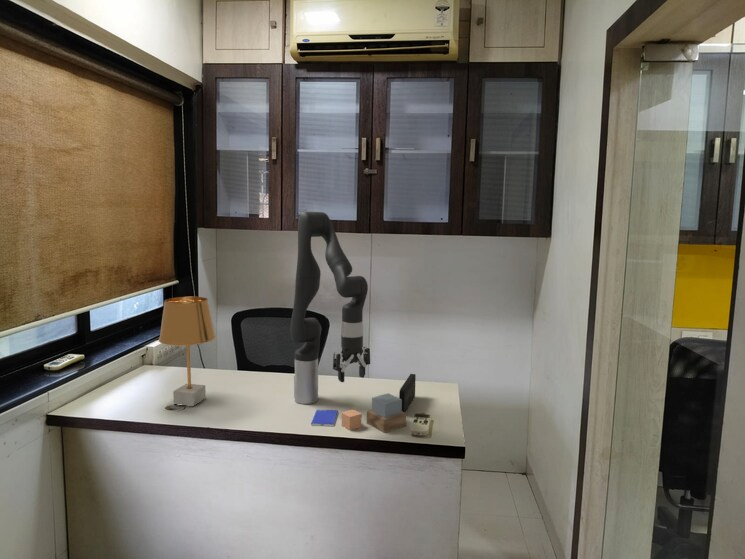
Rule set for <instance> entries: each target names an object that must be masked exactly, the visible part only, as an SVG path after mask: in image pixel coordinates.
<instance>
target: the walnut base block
mask: <svg viewBox="0 0 745 559" xmlns="http://www.w3.org/2000/svg"><path fill="white" fill-rule="evenodd" d="M366 424H367V425H369V426H371V427H373V428H374V429H376V430H378V431H380V432H382V433H383V434H387V433H389V432H392V431H395V430H399V429H401V428H404V426H405V427H406V426H407V412H406V413H404V412H401V413H400V414H397V415H393V416H390V417H387V418H384V417H382V416H380V415H378V414H376V413H375V412H373V411H372V408H371V409H368V410H366Z"/></svg>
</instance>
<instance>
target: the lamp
mask: <svg viewBox="0 0 745 559" xmlns="http://www.w3.org/2000/svg"><path fill="white" fill-rule="evenodd" d="M161 318H162V319H161V324H160V325H161V326H160V333H159V338H158V342H159V343H160V344H163V345H167V346H175V347H176V346H179V347H180V346H181V347H182V346H185V347H186V350H185V351H186V373H187V376H186V377H187V383H184V384H183V385H181V386H179V387H178V388H175V389H174V390H173V391H172V392H173V393H172V395H173V405H174V404H182V405H190V406H194V405H196V404H197V403H199V402H200V401H201V402H203V401H204V400H206V399H205V398H207V395H206V394H207V392H206V391H207V390H206V384H196V383H192V372H191V369H192V368H191V367H192V366H191V346H194V345H200V344H201V345H202V344H206V343H209V342H212V341H214V340H215V339H216V338H217V335H216V332H215V328H214V322H213V319H212V314H211V309H210V304H209V300H208V298H207V297H203V296H178V297H172V298H168V299H167V298H166V299H165V300H164V304H163V311H162V317H161ZM203 399H204V400H203ZM202 400H203V401H202ZM201 402H200V403H201ZM200 403H199V404H200ZM197 405H198V404H197ZM197 405H196V406H197ZM194 407H195V406H194Z"/></svg>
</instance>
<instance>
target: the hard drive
mask: <svg viewBox="0 0 745 559" xmlns="http://www.w3.org/2000/svg"><path fill="white" fill-rule="evenodd" d="M338 413H339V411H338V410H337V409H316V411H315V413H314V416H313V417H312V420H311V422H310V426H311V425H314V426H313V427H316V426H317V427H335V424H336V420H337V418H338Z"/></svg>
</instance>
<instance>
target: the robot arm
mask: <svg viewBox="0 0 745 559" xmlns="http://www.w3.org/2000/svg"><path fill="white" fill-rule="evenodd" d="M320 237H322V238H323V240H324V242H325V244H326V245H325V246H326V248H325V253H324V255H325V256H324V257H325V261H326V264H327V266H328V267H329V269H330V271H331V272H332V274H333V277H334V282H335V287H336V291H337V293H338V295H339V296H341V297H342V298H345V299H348V298H351V301H349V302H347V303H345V304H343V306H342V308H341V328H340V331H341V333H340V335H341V336H340V337H341V339H340V347H341V351H340V352H333V358H332V359H333V360H332V370H333V371H336V372H337V379H338V380H337V381H339V382H341V383H345V370H346V368H347V367H349V365H351V364H353V363H354V364H355V363H358V365H359V366H358V369H359V370H358V377H359V378H365V376H366V367H367V366H368V365H370V364H371V348H369V347H366V346H364V324H363V316H364V314H363V310H364V305H365V302H366V298H367V295H368V292H369V290H368V289H369V285H368V281H367V279H366V278H365V277H364V276H362V275H355V276H354V275H352V276H350V275H351V274H352V273H353V266H352V264H351V263H350V261H349V259H348V257H347V255H346V253H345V252H344V251H343V249H342V245H341V244H340V242H339V238H338V236H337V233H336V231H335V228H334V226H333V223H332V221H331V219H330V217H329V215H328V214H327V213H326V212H322V211H302V212H301V214H300V215H299V217H298V222H297V259H296V260H297V263H296V264H297V265H296V273H295V281H294V282H295V284H294V285H295V287H294V289H295V291H294V299H293V308H292V314H291V320H290V325H289V333H290V339H291V341H292V342H293V343H294V344H301V343H302V344H303V343H304V344H303V345H302V346H300V347H299V348H297V349H296V350H295V352H294V375H293V388H294V389H293V390H294V391H293V392H294V394H293V398H294V402H296V403H297V404H301V405H310V404H314V403H316V402H318V401H319V353H320V349H321V348H320V346H321V344H320V343H321V326H320V322H319V320H318V319H317V318H316V317H306V313H307V310H308V308H309V306H310V304H311V303H312V301H313V300H314V298H315V297H316V296H317V293H319V292H318V291H319V290H320V285H321V275H322V274H321V272H322V271H321V269H320V266H319V263H318V261H317V260H316V258H315V256H314V253H313V251H312V238H320ZM362 355H363V358H362Z"/></svg>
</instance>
